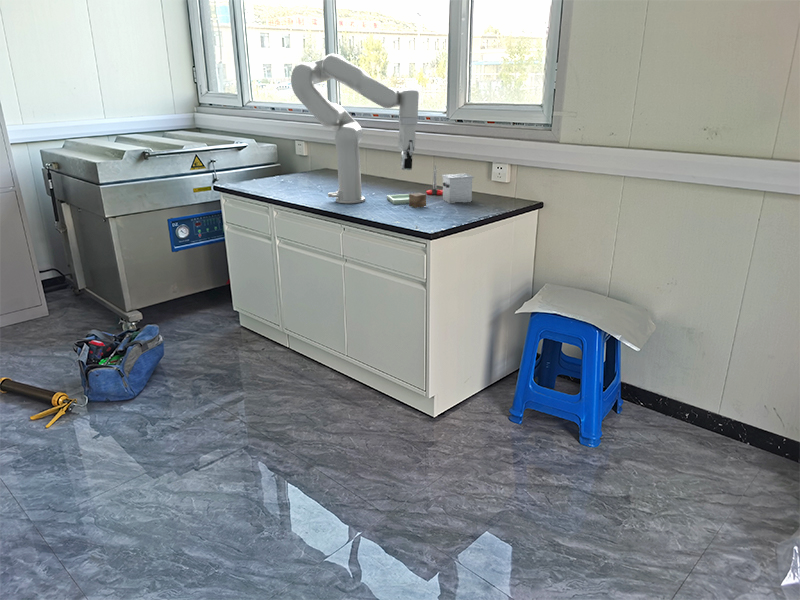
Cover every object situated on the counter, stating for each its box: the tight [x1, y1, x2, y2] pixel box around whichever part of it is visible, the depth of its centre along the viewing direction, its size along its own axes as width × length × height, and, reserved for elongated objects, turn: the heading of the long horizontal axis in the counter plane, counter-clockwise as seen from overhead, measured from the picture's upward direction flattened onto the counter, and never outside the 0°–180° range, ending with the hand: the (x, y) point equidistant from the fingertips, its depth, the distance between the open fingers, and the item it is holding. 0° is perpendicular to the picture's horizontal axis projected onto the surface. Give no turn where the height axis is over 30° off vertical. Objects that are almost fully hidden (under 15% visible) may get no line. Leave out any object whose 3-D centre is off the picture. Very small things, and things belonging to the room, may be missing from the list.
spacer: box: [400, 150, 413, 171], centre depth 240 cm, size 4×4×7 cm
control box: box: [441, 172, 474, 204], centre depth 245 cm, size 11×9×11 cm
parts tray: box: [386, 193, 410, 205], centre depth 247 cm, size 11×11×2 cm
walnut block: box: [408, 192, 427, 209], centre depth 237 cm, size 5×5×5 cm
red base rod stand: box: [425, 165, 443, 196], centre depth 261 cm, size 8×13×9 cm
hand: (406, 167), depth 241 cm, fingers closed on spacer, 4 cm apart
